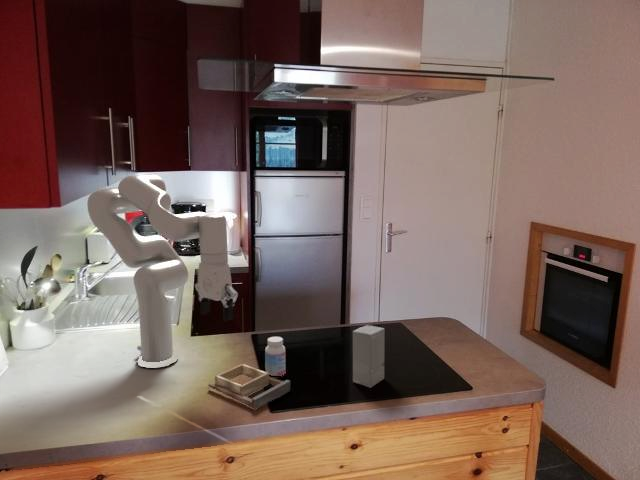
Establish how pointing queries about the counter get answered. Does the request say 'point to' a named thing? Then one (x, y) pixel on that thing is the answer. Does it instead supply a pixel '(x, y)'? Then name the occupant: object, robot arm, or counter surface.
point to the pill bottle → (275, 357)
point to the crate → (257, 383)
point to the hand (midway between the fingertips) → (216, 316)
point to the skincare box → (368, 355)
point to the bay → (262, 398)
